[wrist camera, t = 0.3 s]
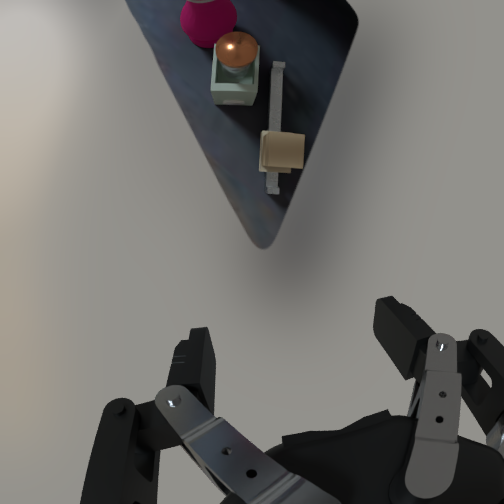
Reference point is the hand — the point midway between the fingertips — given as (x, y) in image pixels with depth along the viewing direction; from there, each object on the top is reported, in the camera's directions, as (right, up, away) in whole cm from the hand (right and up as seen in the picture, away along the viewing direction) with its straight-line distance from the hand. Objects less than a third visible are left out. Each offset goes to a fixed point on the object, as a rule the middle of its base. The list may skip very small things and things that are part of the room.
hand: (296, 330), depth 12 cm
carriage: (+1, +17, +23) cm, 28 cm away
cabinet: (-4, +26, +20) cm, 33 cm away
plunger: (-4, +24, +13) cm, 27 cm away
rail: (+1, +20, +23) cm, 30 cm away
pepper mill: (-8, +35, +17) cm, 40 cm away
